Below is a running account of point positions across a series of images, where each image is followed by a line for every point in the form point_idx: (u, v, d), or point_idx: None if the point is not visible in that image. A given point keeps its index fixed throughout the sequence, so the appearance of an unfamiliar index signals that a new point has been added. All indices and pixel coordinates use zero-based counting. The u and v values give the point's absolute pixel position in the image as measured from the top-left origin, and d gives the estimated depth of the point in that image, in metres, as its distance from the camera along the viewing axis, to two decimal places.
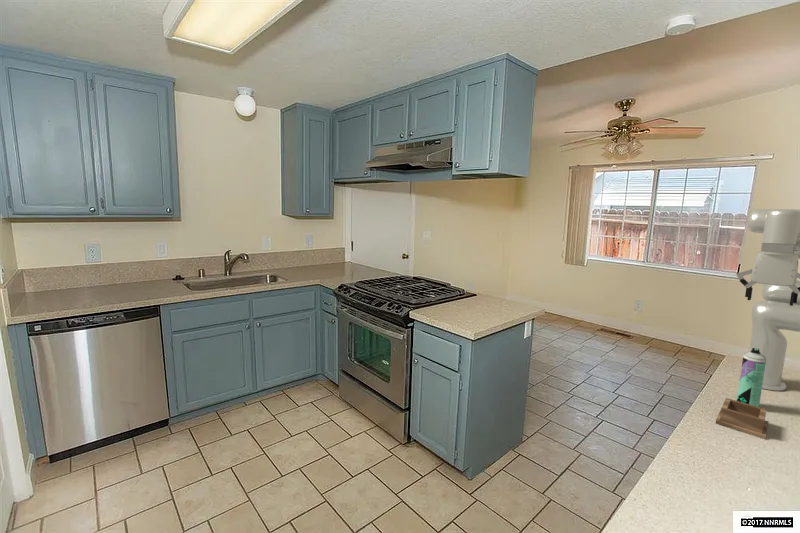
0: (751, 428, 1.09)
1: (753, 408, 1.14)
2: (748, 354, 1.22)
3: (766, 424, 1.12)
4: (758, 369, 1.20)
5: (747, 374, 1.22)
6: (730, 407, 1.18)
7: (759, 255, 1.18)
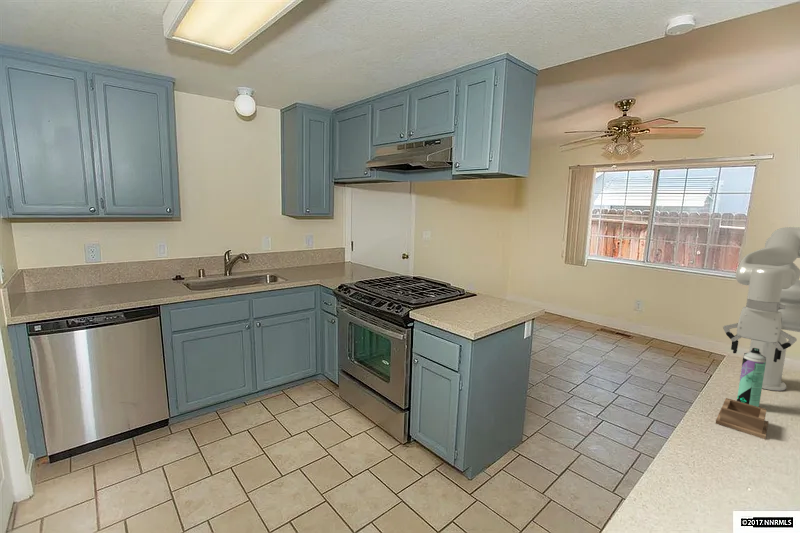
0: (751, 428, 1.09)
1: (753, 408, 1.14)
2: (748, 354, 1.22)
3: (766, 424, 1.12)
4: (758, 369, 1.20)
5: (747, 374, 1.22)
6: (730, 407, 1.18)
7: (744, 311, 1.21)
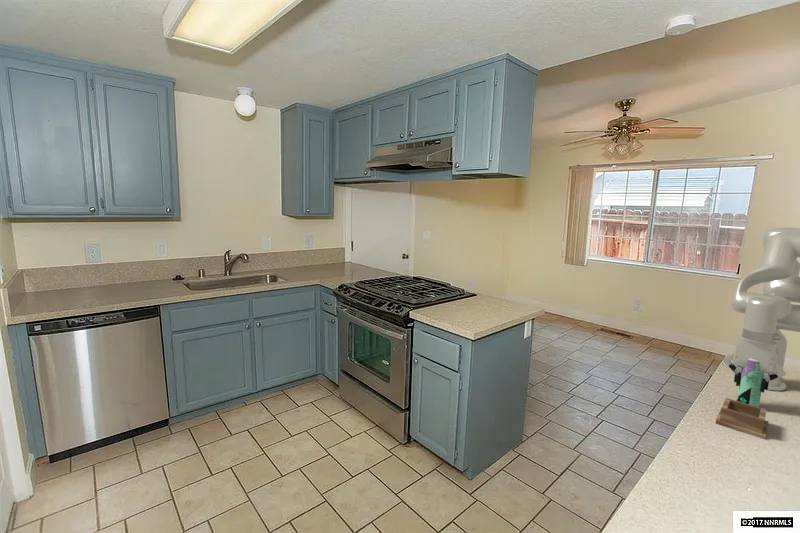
0: (751, 428, 1.09)
1: (753, 408, 1.14)
2: None
3: (766, 424, 1.12)
4: (758, 369, 1.20)
5: (747, 374, 1.22)
6: (730, 407, 1.18)
7: (740, 340, 1.23)
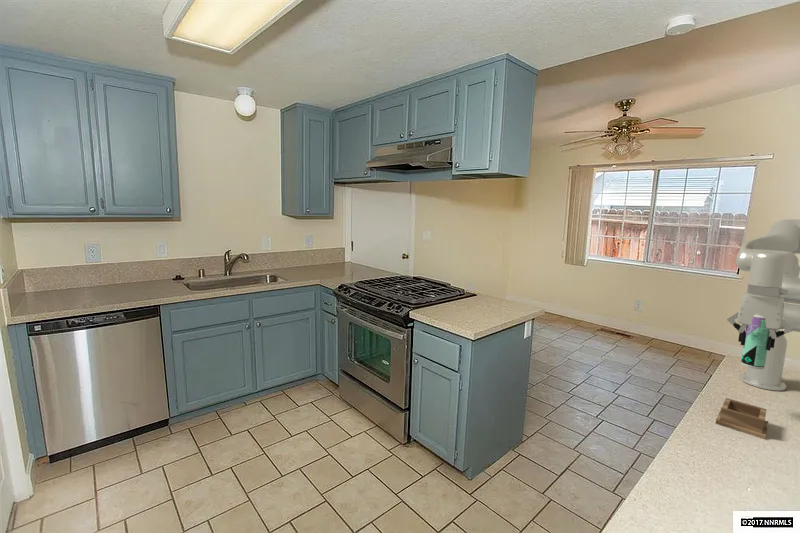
0: (751, 428, 1.09)
1: (753, 408, 1.14)
2: None
3: (766, 424, 1.12)
4: (763, 325, 1.15)
5: (753, 331, 1.17)
6: (730, 407, 1.18)
7: (745, 297, 1.18)
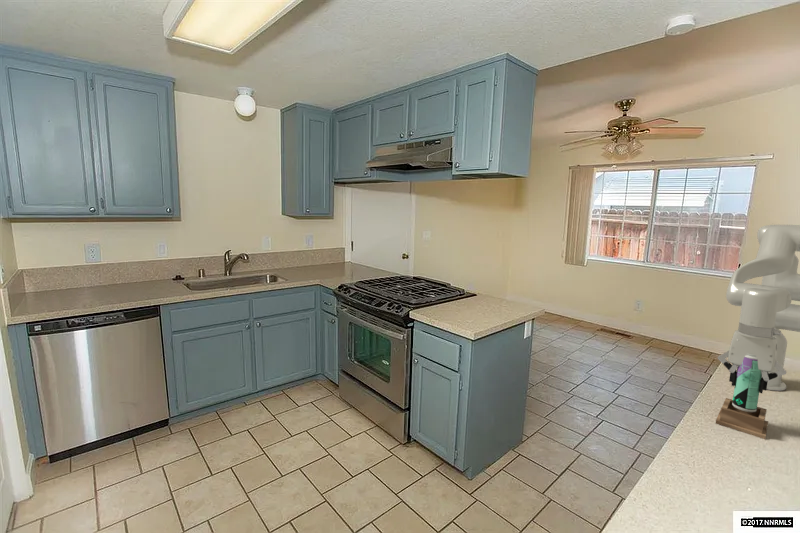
0: (751, 428, 1.09)
1: None
2: None
3: (766, 424, 1.12)
4: (755, 367, 1.08)
5: (744, 372, 1.10)
6: (730, 407, 1.18)
7: (736, 335, 1.11)
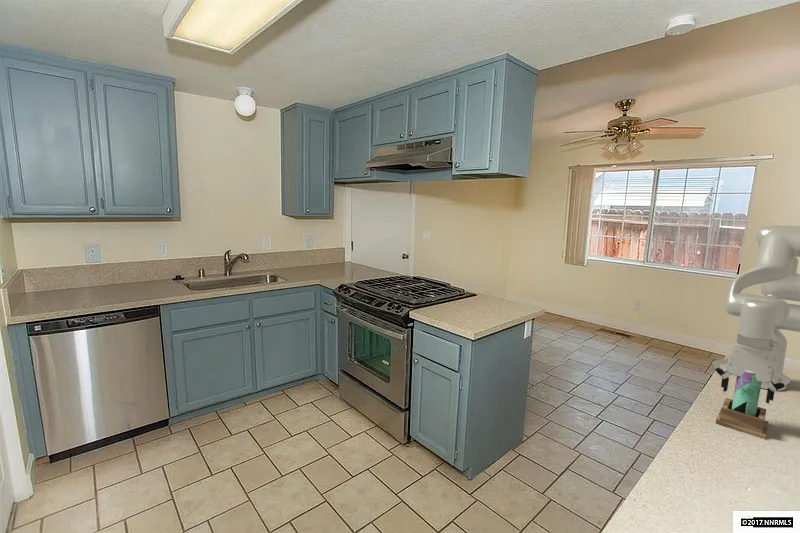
0: (751, 428, 1.09)
1: None
2: None
3: (766, 424, 1.12)
4: (754, 381, 1.09)
5: (743, 386, 1.11)
6: (730, 407, 1.18)
7: (734, 346, 1.12)
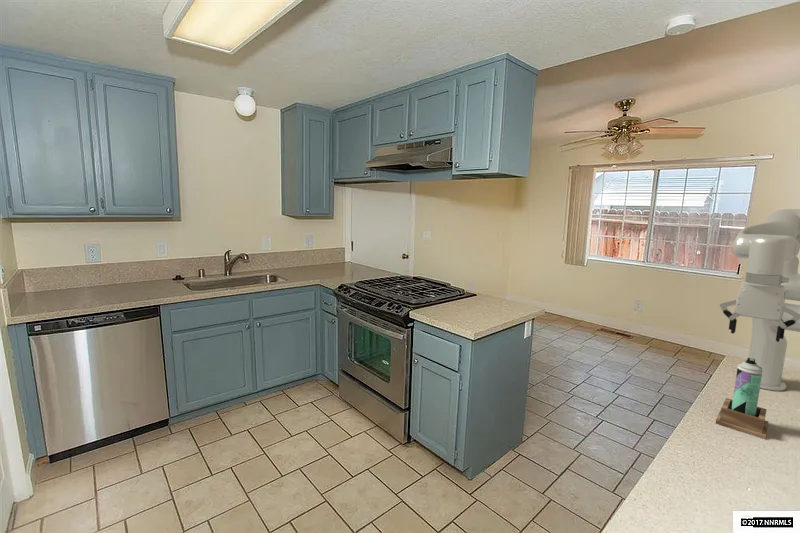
0: (751, 428, 1.09)
1: None
2: (743, 364, 1.12)
3: (766, 424, 1.12)
4: (753, 381, 1.09)
5: (742, 386, 1.11)
6: (730, 407, 1.18)
7: (743, 286, 1.09)
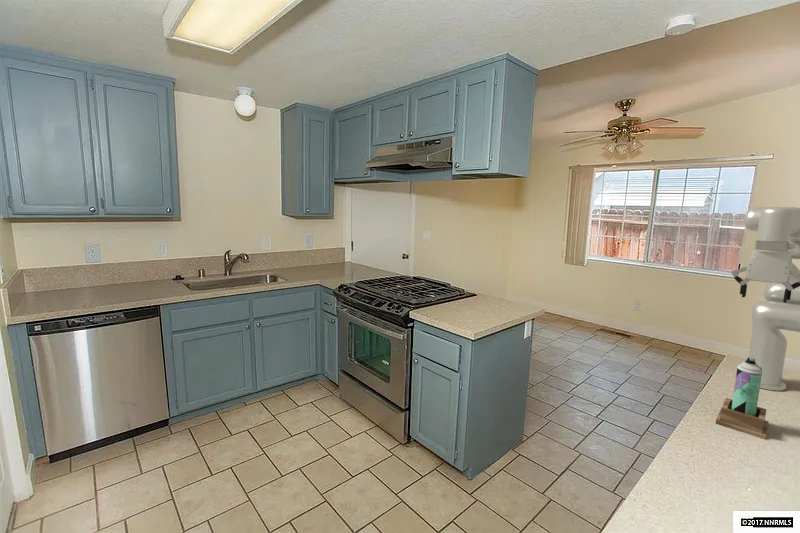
0: (751, 428, 1.09)
1: None
2: (742, 364, 1.12)
3: (766, 424, 1.12)
4: (753, 381, 1.09)
5: (742, 386, 1.11)
6: (730, 407, 1.18)
7: (753, 253, 1.20)
